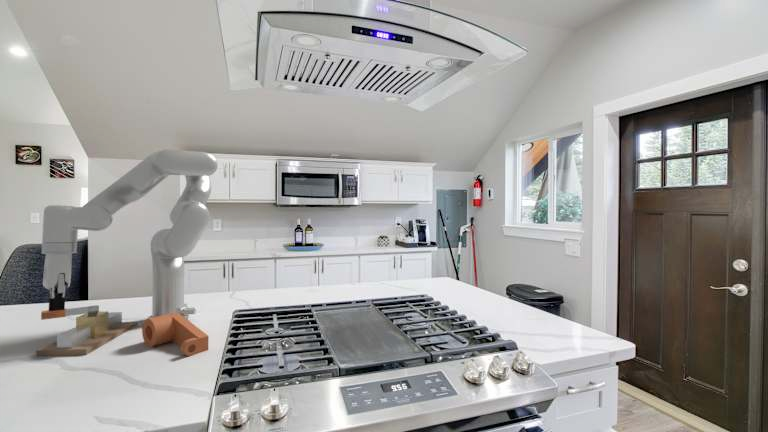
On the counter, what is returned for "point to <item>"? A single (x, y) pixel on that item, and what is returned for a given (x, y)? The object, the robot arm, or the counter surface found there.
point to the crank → (174, 333)
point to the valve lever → (68, 312)
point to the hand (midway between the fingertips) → (56, 311)
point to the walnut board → (87, 342)
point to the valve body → (88, 328)
